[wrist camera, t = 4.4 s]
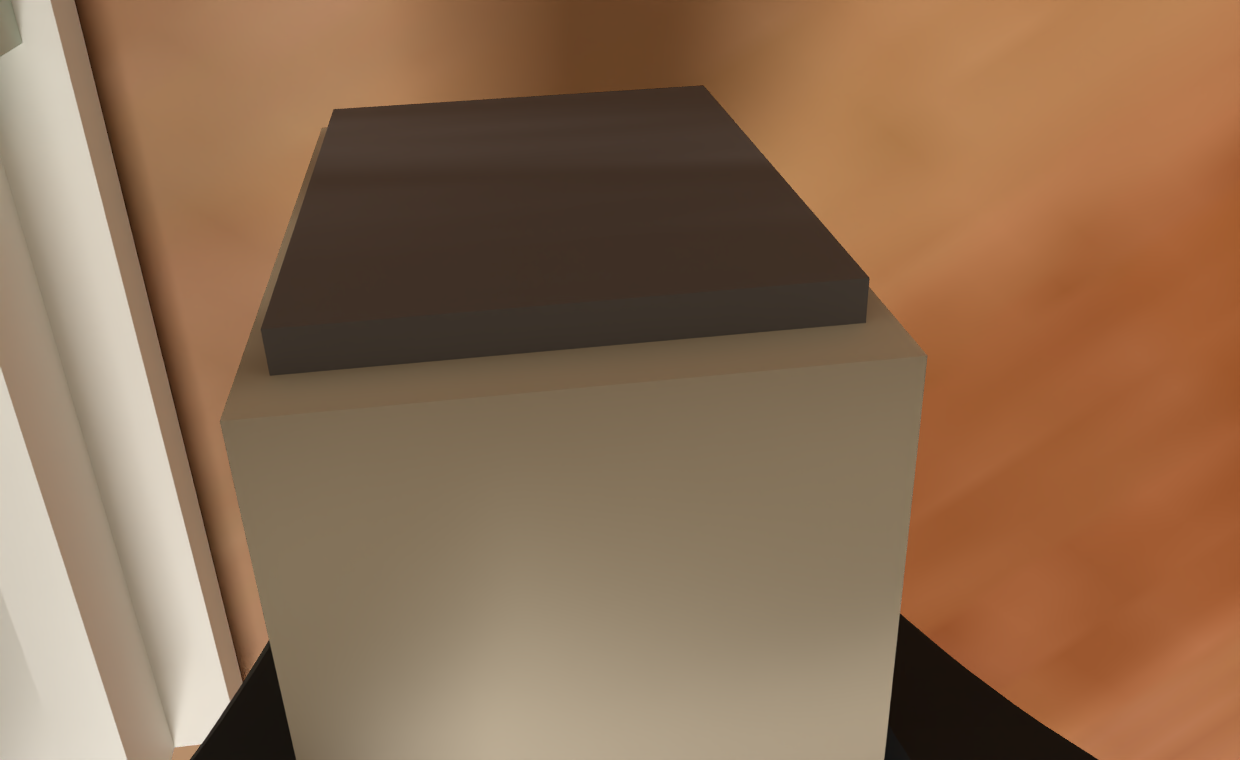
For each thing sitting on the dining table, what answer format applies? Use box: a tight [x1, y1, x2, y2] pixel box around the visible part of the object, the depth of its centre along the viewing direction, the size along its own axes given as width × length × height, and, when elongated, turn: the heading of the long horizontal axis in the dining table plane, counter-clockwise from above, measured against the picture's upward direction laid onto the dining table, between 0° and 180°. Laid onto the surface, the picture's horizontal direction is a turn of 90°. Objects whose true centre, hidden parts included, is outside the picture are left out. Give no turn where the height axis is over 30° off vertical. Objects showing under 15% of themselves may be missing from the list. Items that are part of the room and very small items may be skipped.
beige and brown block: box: [220, 85, 927, 760], centre depth 11 cm, size 10×4×6 cm, turn 1°
